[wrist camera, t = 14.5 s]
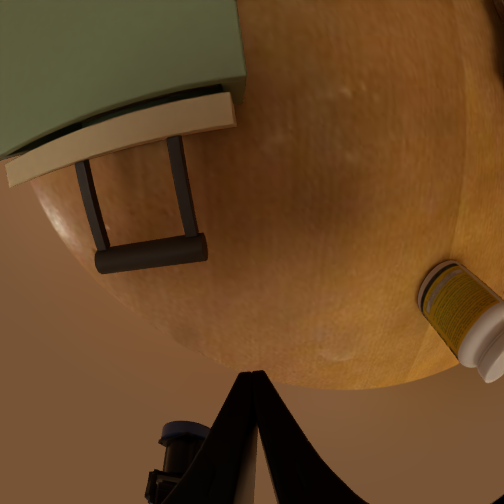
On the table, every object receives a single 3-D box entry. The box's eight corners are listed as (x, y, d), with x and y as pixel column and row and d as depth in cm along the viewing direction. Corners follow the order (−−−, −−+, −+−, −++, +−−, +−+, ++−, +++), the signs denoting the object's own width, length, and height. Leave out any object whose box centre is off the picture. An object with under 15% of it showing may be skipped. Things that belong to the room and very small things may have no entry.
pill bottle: (406, 314, 24) (463, 398, 14) (429, 255, 22) (508, 330, 11) (448, 312, 25) (504, 382, 15) (470, 260, 22) (541, 323, 12)
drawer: (250, 221, 19) (256, 284, 12) (105, 243, 19) (50, 304, 12) (209, -68, 9) (199, -131, 2) (74, -26, 9) (21, -60, 2)
